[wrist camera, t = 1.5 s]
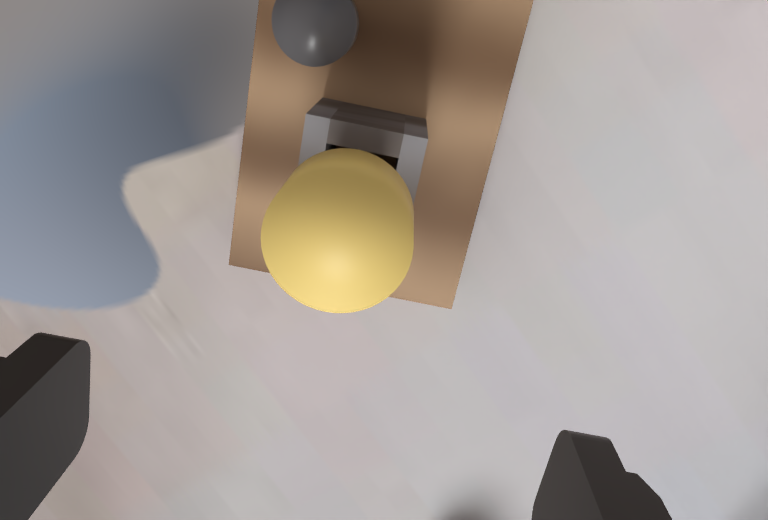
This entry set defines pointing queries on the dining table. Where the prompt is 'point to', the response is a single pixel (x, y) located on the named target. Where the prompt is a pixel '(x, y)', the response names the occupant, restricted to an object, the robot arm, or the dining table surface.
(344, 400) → the dining table surface
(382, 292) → the knob
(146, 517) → the dining table surface
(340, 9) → the pot post
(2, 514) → the robot arm
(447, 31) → the mount
